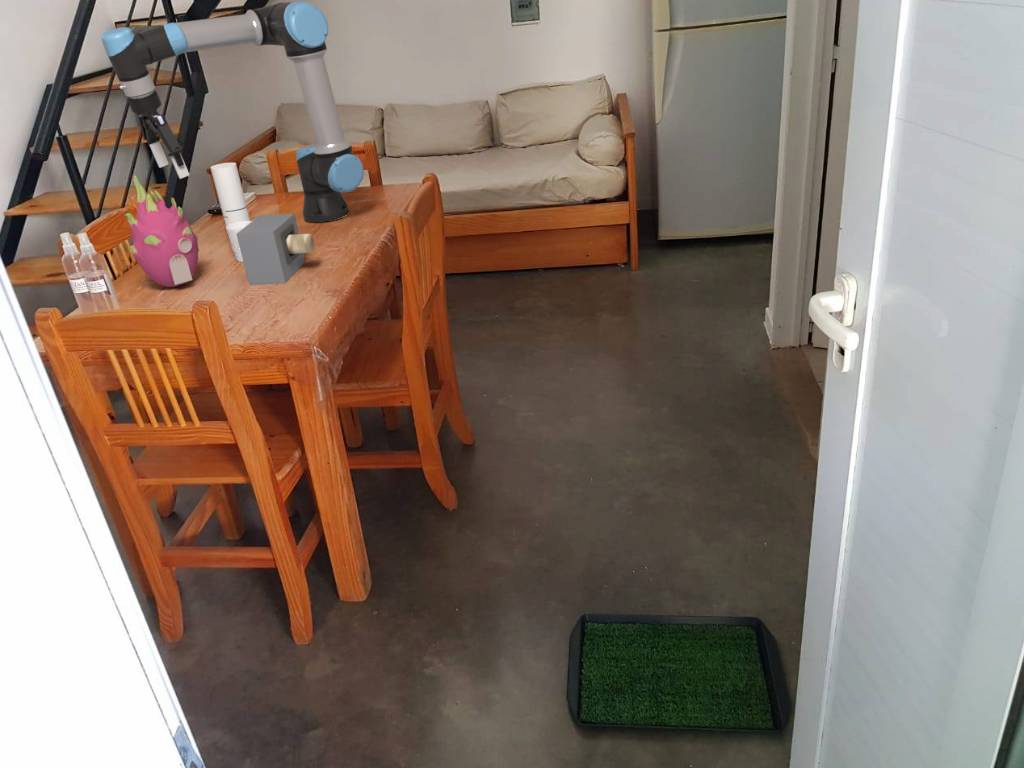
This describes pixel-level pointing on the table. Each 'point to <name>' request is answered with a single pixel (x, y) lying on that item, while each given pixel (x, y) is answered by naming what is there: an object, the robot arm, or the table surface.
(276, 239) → the housing
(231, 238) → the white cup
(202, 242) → the table surface
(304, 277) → the table surface
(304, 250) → the peg
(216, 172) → the cylindrical container
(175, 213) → the pink dragon fruit
